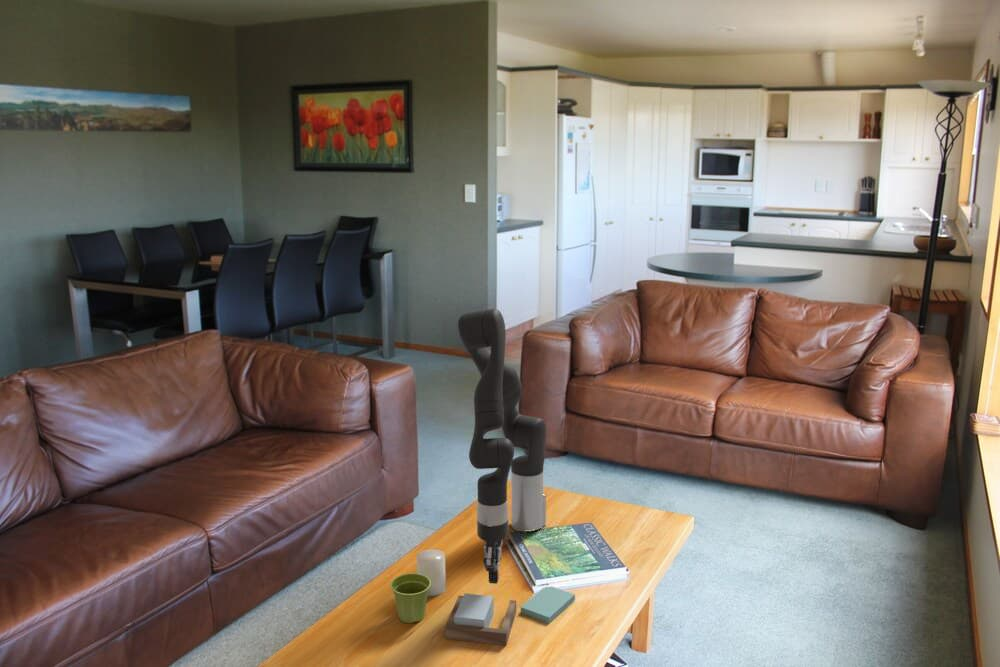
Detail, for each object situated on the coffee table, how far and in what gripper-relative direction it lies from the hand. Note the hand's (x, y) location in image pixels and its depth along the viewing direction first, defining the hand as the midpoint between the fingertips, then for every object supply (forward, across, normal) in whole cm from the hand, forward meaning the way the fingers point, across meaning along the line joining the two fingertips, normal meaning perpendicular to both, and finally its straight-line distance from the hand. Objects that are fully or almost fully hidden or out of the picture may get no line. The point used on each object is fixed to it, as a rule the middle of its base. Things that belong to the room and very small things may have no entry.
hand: (493, 581), depth 204 cm
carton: (+4, +13, -2) cm, 14 cm away
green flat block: (+4, +2, +14) cm, 15 cm away
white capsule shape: (+4, 0, -16) cm, 16 cm away
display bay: (+4, +12, 0) cm, 13 cm away
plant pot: (+4, +12, -17) cm, 22 cm away
